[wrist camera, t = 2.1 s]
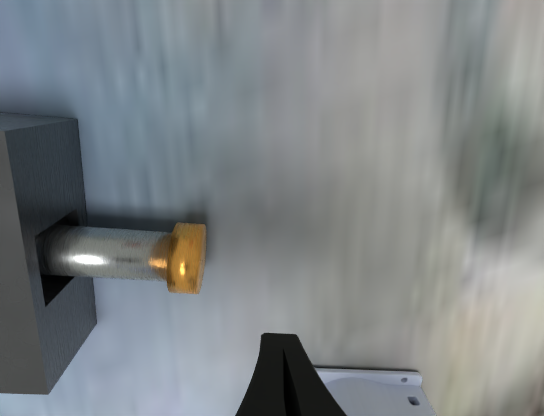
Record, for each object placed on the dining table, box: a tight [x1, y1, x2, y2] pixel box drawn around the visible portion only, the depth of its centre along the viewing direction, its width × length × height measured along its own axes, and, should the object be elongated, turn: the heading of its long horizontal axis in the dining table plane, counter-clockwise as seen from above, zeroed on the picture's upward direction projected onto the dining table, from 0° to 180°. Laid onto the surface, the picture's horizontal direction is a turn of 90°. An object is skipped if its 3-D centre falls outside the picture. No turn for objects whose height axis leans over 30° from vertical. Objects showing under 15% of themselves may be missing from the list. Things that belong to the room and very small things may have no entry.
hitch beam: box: [0, 112, 97, 395], centre depth 18 cm, size 6×14×6 cm, turn 174°
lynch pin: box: [34, 222, 206, 294], centre depth 19 cm, size 12×4×4 cm, turn 84°
